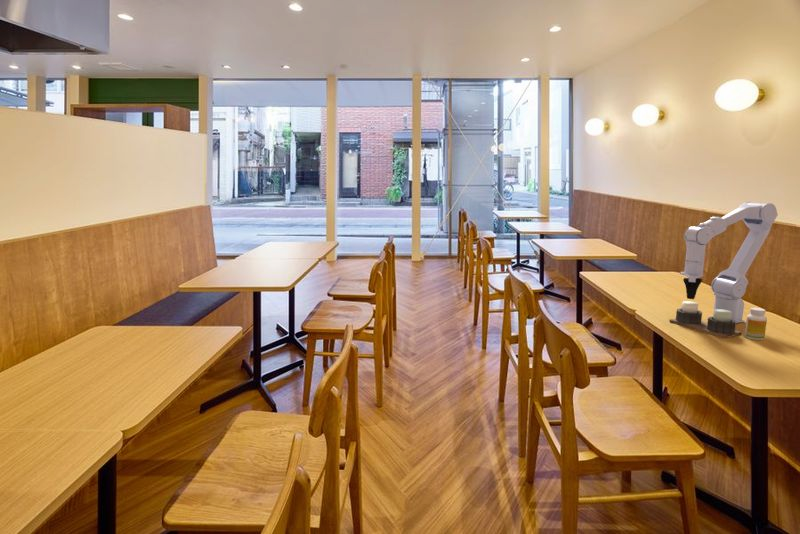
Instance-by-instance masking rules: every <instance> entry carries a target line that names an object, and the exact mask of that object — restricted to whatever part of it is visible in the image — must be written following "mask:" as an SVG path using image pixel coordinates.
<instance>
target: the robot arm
mask: <svg viewBox="0 0 800 534" xmlns="http://www.w3.org/2000/svg"><path fill="white" fill-rule="evenodd" d="M777 217H778V210H777V207H776V205H775V204H774V203H769V202H767V203H766V202H765V203H762V202H751V201H746V202H744V203H742V204H740V205H739V206H738V207H737V208H736V209H734V210H732V211H730V212H729V213H727V214H725V215H724V216H722V217H720V216H712V217H710V219H708V220H707V221H705V222H701V223H699V225H697V226H694V225H693V226H690V227H688V228H687V229H686V231H685V233H683V238H684V241H685V246H686V252H685V262H684V270H683V271H680V274H679V275H683V276H685V277H684V278H682V279H683V280H682V281H683V283H684V286H685V292H686V298H687V299H689V300H695V298H696V295H697V291H698V288H699V287H700V285H701V283H702V282H703V278H702V277H704V267H705V259H706V257H705V256H706V250H707V249H706V247H707V244H709V243H710V241H711V240H712V238H713V237H715V236H717V235H719V234H721V233H723V232H725V231H727V227H728V226H731V225H733V224H735V223H737V222H740V221H741V220H742V221H743V223H744V224H745V225H746V227H747V228H748V229H749V232H748V233H747V235H746V237H745V239H744V240H743V242H742V244H741V246H740V248H739V249H738V251H737V252H736V254H735V256H734V258H733V260H732V261H731V263H730V265H729V267H728V268H727V269H725V270H722V271H720V272H719V273H718V275H717V276H716V277H715V278H713V280H712V281H711V285H710V287H711V291H712V292H713V295H714V307H713V311H714V310H715V309H723V310H728V311H731V312H732V315H731V319H733V320H735V321H736V324H737V323H743V322H744V323H745V322H746V319H743V317H744V311H745V309H744V308H745V303H744V300H743V299H742V297H744V295H745V294H746V292H747V291H746V290H747V286H748V284H749V280H748V278H747V277H746V274H747V272H748V271H749V268H750V266H751V265H752V264H753V262H754V260H755V258H756V256H757V254H758V253H759V251H760V250H761V248H762V246H763V244H764V243H765V241H766V239H767V238H768V236H769V234H770V231H771V227H772V225H773V224H774V223H775V221H776V219H777ZM712 314H713V315H712V317H713V316H714V312H713V313H712ZM709 317H710V316H708V317H706V318H707V320H708V318H709Z"/></svg>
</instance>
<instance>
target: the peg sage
mask: <svg viewBox="0 0 800 534" xmlns="http://www.w3.org/2000/svg"><path fill="white" fill-rule="evenodd" d="M713 313H714V316H713V315H712V317H713V320H715V321H719V322H731V315H732V312H731V311H728V310H723V309H715V310H714V309H713Z"/></svg>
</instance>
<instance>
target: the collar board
mask: <svg viewBox="0 0 800 534" xmlns="http://www.w3.org/2000/svg"><path fill="white" fill-rule="evenodd" d="M681 310H682V307H680V308H677V309H676V312H675V313H676V314H675V318H672V319H669V323H672V324H676V325H679V326H681V327H685V326H686V328H689V327H690V328H689V329H692V328H693V329H692V330H695V329H696V330H695V331H698V332H702V333H705V334H708V335H709V334H710V335H713V336H715V337H719V338H723V339H724V338H729V336H730V337H735V336H740V335H742V331H739V330H736V325H737V323H736V321H735V320H733V319H731V322H719V321H715V320H713V316H708V317H709V318H708V317H707V318H708V319H707V321H702V318H703V311H701V310H699V309H698V312H697V313H686V312H682V311H681Z"/></svg>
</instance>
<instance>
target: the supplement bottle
mask: <svg viewBox="0 0 800 534" xmlns="http://www.w3.org/2000/svg"><path fill="white" fill-rule="evenodd" d="M765 315H766V309H764V308H759V307H750V309H749V314H747V315H746V319H745V322H746V323H745V329H744V337H745V338H747V339H749V340H753V341H763V340H765V336H766V330H767V329H766V328H767V321H768V318H767V317H766V316H765Z"/></svg>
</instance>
